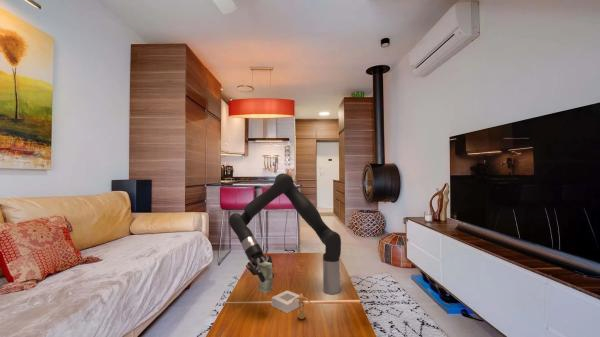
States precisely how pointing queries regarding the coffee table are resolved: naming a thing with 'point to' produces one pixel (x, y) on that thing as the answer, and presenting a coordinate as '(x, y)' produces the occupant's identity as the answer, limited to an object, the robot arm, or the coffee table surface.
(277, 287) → the coffee table surface
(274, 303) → the white well block
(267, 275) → the green metallic peg
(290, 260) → the coffee table surface
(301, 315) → the figurine
